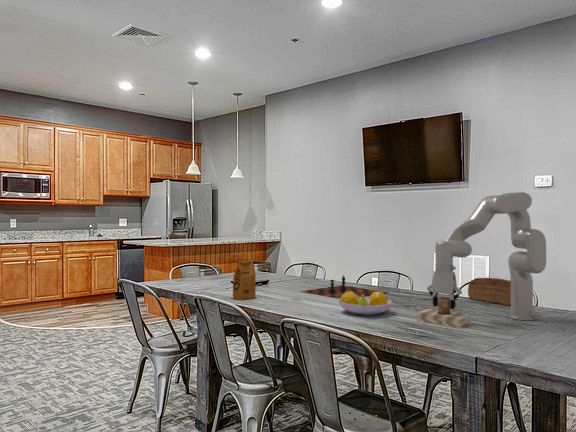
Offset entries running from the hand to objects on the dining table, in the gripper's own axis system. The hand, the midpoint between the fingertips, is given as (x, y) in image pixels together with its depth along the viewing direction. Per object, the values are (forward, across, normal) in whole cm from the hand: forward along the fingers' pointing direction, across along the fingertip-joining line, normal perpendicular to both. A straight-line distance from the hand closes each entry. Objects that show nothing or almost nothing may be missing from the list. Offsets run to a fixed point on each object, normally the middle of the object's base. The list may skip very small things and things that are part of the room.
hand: (443, 307), depth 213 cm
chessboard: (+8, +85, -37) cm, 93 cm away
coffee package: (+7, +112, +23) cm, 115 cm away
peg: (+7, 0, 0) cm, 7 cm away
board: (+7, 0, 0) cm, 7 cm away
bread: (+7, +3, -70) cm, 71 cm away
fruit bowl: (+7, +38, +8) cm, 39 cm away
